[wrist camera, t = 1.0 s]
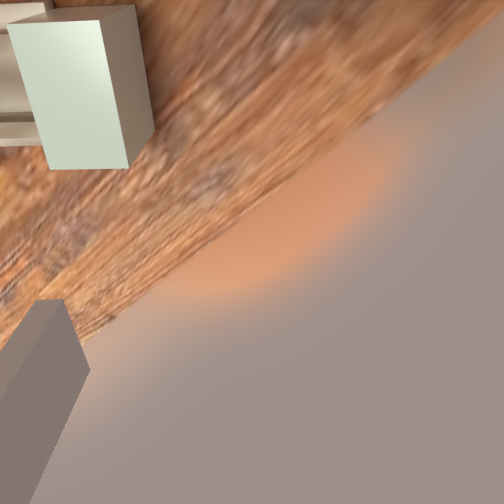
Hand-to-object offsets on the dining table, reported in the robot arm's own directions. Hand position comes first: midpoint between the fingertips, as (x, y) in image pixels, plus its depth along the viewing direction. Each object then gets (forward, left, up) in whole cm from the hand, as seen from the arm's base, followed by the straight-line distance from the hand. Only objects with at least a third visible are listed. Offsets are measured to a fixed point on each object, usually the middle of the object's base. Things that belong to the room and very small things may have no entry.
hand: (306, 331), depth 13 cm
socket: (-1, -14, -27) cm, 30 cm away
